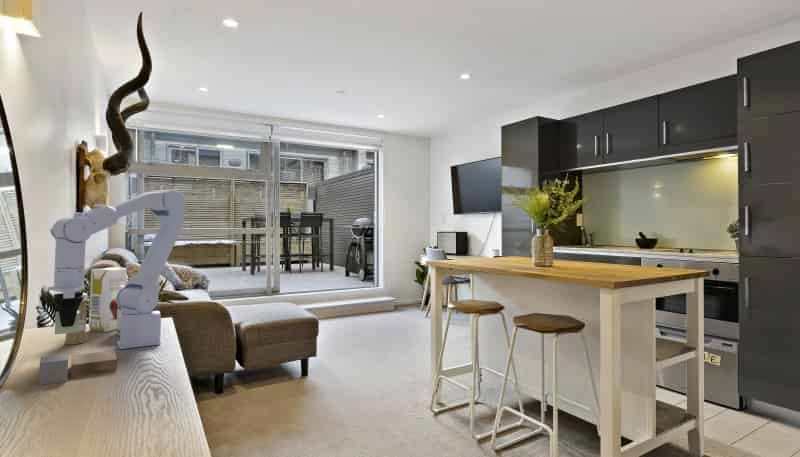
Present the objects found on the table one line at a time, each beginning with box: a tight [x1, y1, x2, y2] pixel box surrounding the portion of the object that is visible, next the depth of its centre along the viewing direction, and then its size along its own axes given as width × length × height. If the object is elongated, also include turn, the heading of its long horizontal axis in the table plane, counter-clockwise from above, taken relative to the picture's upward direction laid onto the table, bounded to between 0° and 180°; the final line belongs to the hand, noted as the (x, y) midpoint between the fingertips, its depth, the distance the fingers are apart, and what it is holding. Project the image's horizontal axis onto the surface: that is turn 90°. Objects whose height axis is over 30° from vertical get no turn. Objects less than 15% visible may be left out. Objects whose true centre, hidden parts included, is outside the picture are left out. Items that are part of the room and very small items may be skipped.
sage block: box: [54, 310, 80, 335], centre depth 101 cm, size 4×4×4 cm
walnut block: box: [71, 349, 118, 378], centre depth 96 cm, size 8×8×3 cm
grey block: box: [38, 354, 69, 386], centre depth 88 cm, size 4×4×4 cm
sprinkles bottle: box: [64, 292, 89, 345], centre depth 116 cm, size 5×5×13 cm
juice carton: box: [88, 266, 127, 333], centre depth 132 cm, size 8×9×19 cm
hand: (67, 324), depth 101 cm, fingers closed on sage block, 4 cm apart
